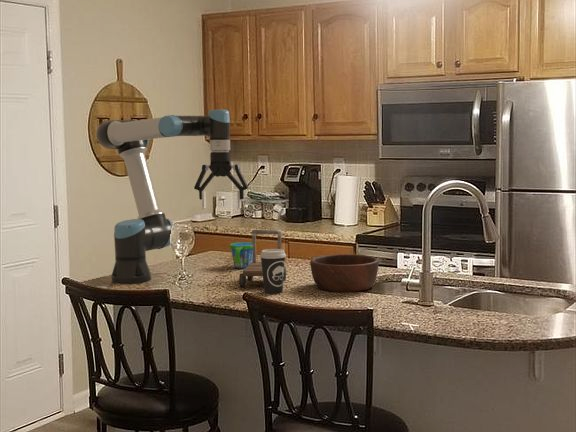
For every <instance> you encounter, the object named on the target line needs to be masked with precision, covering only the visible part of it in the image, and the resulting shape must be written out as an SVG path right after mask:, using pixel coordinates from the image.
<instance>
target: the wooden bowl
mask: <svg viewBox="0 0 576 432" xmlns="http://www.w3.org/2000/svg"><path fill="white" fill-rule="evenodd" d="M309 262H310V263H309V264H310V270H311V271H310V272H311V277H312V280H313V281H314V284H315V285H316V287H318V289H320V290H323V291H326V292H327V291H328V292H335V293H336V292H339V293H350V292H351V293H352V292H361V291H367V290H369V289H371V288H372V287H373V285H374V284H375V282H376V279H377V278H378V277H377V276H378V272H379V263H380V261H379V259H378V258H377V257H374V256H371V255H363V254H350V253H348V254H347V253H346V254H345V253H344V254H341V253H338V254H327V255H326V254H324V255H319V256H315V257H313V258H311V259H310V261H309Z"/></svg>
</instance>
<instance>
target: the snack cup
mask: <svg viewBox="0 0 576 432" xmlns="http://www.w3.org/2000/svg"><path fill="white" fill-rule="evenodd" d="M229 248H230V250H231V256H232V260H233V266H234V268H235V269H239V270H244V269H245V268H246V267H247V266H249V265H250V264H251V263H252V262H253V249H252V241H251V242H250V241H249V242H246V241H243V242H241V241H238V242H233V243H230V244H229Z"/></svg>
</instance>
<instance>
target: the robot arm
mask: <svg viewBox="0 0 576 432" xmlns="http://www.w3.org/2000/svg"><path fill="white" fill-rule="evenodd" d="M230 132H231V119H230V111H229V110H228V109H210V110H209V112H208V115H174V114H169V115H164V116H160V117H153V118H147V119H138V120H136V119H135V120H134V119H127V120H126V119H123V120H122V119H115V120H114V119H110V120H105V121H103V122H101V123H100V124H99V126H97V129H96V135H95V136H96V139H97V141H98V143H99V144H100V145H101V146H102V147H103V148H106V149H108V150H117V153H118V157H120V158H122V159H123V161H124V164H125V165H124V166H125V167H126V172H127V176H128V179H129V182H130V187H131V191H132V194H133V198H134V201H135V204H136V209H137V213H138V216H137V218H136V219H135V218H133V219H126V220H121V221H119V222H116V224H115V226H114V229H113V230H114V231H113V232H114V233H113V238H114V257H115V260H114V261H115V263H114V266H113V269H112V272H111V282H112V283H114V284H121V285H122V284H124V285H126V284H128V285H130V284H141V283H146V282H149V281H151V280H152V274H151V271H150V268H149V265H148V263H147V257H146V252H148V251H153V250H161V249H163V248H167V247H169V246H170V245H171V244H170V234H171V228H172V226H173V225H174V223H173V221H171V220H170V219H169V218H167V217H166V215H165V212H164V211H162V210H160V206H159V203H158V199H157V195H156V192H155V188H154V184H153V180H152V176H151V173H150V169H149V165H148V162H147V158H146V155H145V154H146V152H147V150H148V145H149V144H150V143H149V142H150V140H154V139H162V138H163V139H164V138H173V137H174V138H175V137H198V136H199V137H204V136H209V150H210V154H209V157H210V158H209V159H210V164H209V165H207V164H202V166H201V171H200V173H199V176H198V178H197V180H196V182H195V184H194V186H193V189H194V190H195V191H198V197H199V200H200V201H201V209H206V208H207V198H206V193H207V192H206V190H205V189H206V187H208V185H209V184H210V183H211V181H212V180H213V179H214V177H217V178H219V177H223V178H224V177H227V178H228V179H229V180H230V181H231V182H232V183H233V184H234V186H235V187H236V188H237V189H238V190H237V209H238V210H239V209H242V200H244V197H245V196H244V194H245V193H244V192H245V190H248V189H249V185H248V183H247V181H246V179H245V177H244V175H243V174H242V171H241V169H240V168H241V167H240V164H239V163H237V164H232V161H231V155H232V154H231V135H230V134H231V133H230ZM232 169H233V171H234V172H235V173H236V176H237V177H238V179H239V181H238V179H236V178H235V176H234V175H233V174H232V172H231V170H232ZM208 170H210V171H211V172H210V174H209V176H208V177H207V178H206V179H205V181H203V180H204V177H205V175H206V173H207V171H208ZM202 182H203V183H202Z"/></svg>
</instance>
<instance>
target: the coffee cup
mask: <svg viewBox="0 0 576 432" xmlns="http://www.w3.org/2000/svg"><path fill="white" fill-rule="evenodd" d="M286 257H287V254H286V253H285V250H284V249H282V248H281V249H278V248H270V249H269V248H267V249H262V250H261V253H260V254H259V258H260V262H261V264H262V273H263V276H262V281H263V291H264V293H265V294H267V295H278V294H282V293H283V291H284V290H283V289H284V280H283V278H284V267H285V261H286Z"/></svg>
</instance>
